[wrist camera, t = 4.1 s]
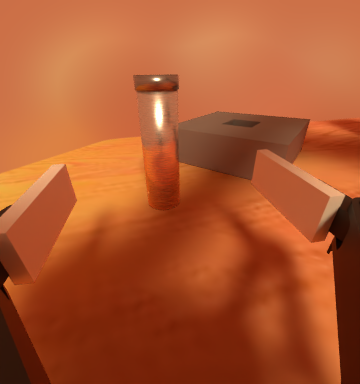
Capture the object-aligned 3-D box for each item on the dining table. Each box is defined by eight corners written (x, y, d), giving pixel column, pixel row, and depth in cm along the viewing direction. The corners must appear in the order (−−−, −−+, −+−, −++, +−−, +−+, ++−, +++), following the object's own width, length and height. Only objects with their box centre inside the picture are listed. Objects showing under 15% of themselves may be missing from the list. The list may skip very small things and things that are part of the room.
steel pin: (162, 189, 28) (154, 75, 22) (186, 198, 26) (187, 74, 19) (140, 203, 26) (123, 75, 19) (166, 214, 23) (158, 74, 16)
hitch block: (215, 135, 53) (217, 111, 50) (301, 149, 43) (310, 119, 40) (168, 158, 39) (166, 126, 36) (278, 186, 29) (288, 145, 26)
